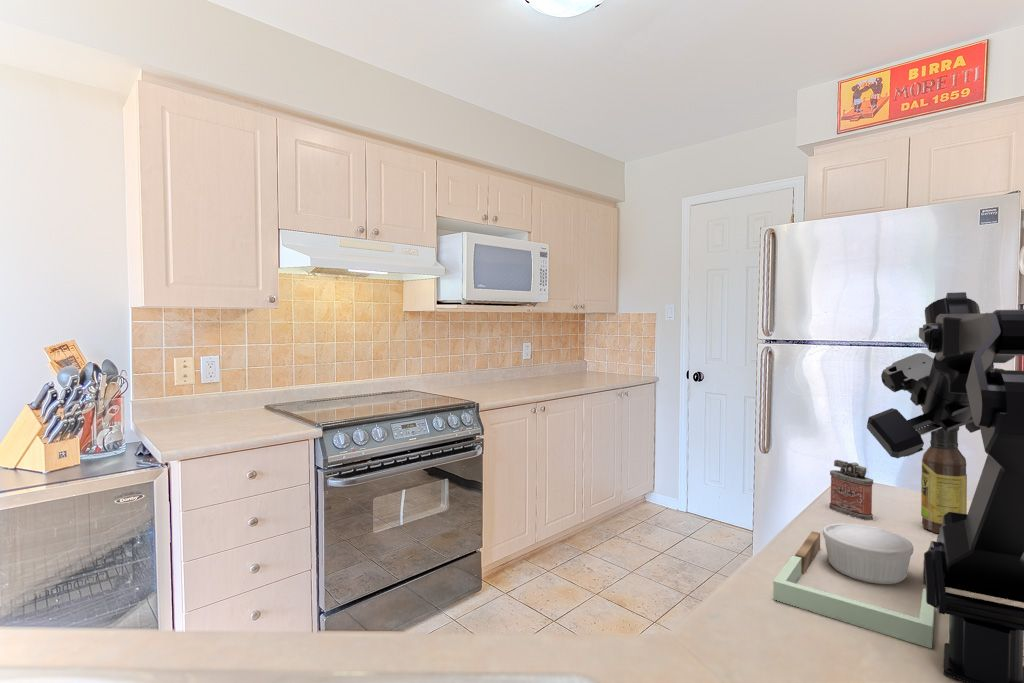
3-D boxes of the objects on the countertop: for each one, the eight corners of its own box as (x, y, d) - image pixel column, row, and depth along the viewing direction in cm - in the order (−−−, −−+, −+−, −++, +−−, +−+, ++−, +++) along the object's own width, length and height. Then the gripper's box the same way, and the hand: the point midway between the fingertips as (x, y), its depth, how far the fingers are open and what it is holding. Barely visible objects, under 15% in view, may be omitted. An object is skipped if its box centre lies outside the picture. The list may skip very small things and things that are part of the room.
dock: (931, 648, 59) (932, 626, 59) (773, 599, 69) (773, 581, 69) (934, 610, 67) (935, 591, 67) (792, 572, 77) (792, 555, 77)
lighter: (877, 518, 99) (877, 466, 99) (864, 521, 98) (865, 468, 98) (836, 505, 107) (837, 457, 107) (825, 507, 106) (826, 458, 106)
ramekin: (829, 548, 86) (830, 517, 86) (915, 569, 79) (915, 534, 79) (815, 572, 77) (815, 537, 77) (909, 597, 70) (910, 558, 70)
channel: (932, 608, 67) (932, 583, 67) (794, 571, 78) (795, 550, 77) (935, 575, 76) (935, 553, 76) (811, 546, 87) (812, 527, 87)
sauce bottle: (926, 521, 98) (928, 416, 98) (969, 531, 93) (971, 420, 93) (916, 529, 94) (918, 419, 94) (961, 540, 89) (963, 424, 89)
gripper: (979, 313, 72) (958, 377, 83) (844, 368, 75) (841, 423, 86) (1054, 371, 64) (1020, 434, 75) (900, 430, 67) (888, 482, 78)
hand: (937, 441), depth 78 cm, fingers open, 9 cm apart
